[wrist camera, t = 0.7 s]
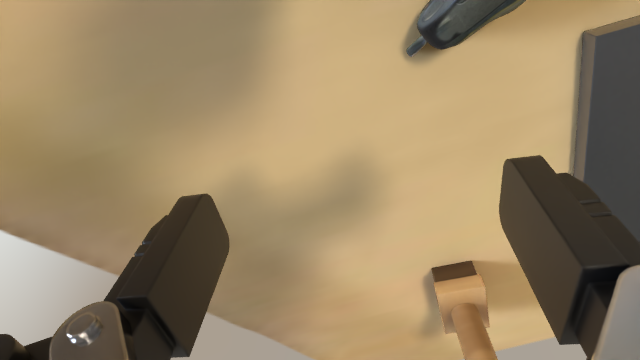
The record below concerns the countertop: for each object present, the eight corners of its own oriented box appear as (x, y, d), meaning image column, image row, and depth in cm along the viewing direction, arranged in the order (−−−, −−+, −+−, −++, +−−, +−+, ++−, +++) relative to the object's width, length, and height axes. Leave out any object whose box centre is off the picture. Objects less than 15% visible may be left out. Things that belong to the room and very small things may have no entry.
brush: (429, 267, 38) (467, 401, 27) (473, 258, 37) (531, 393, 26) (437, 305, 41) (475, 438, 30) (478, 298, 40) (532, 433, 29)
